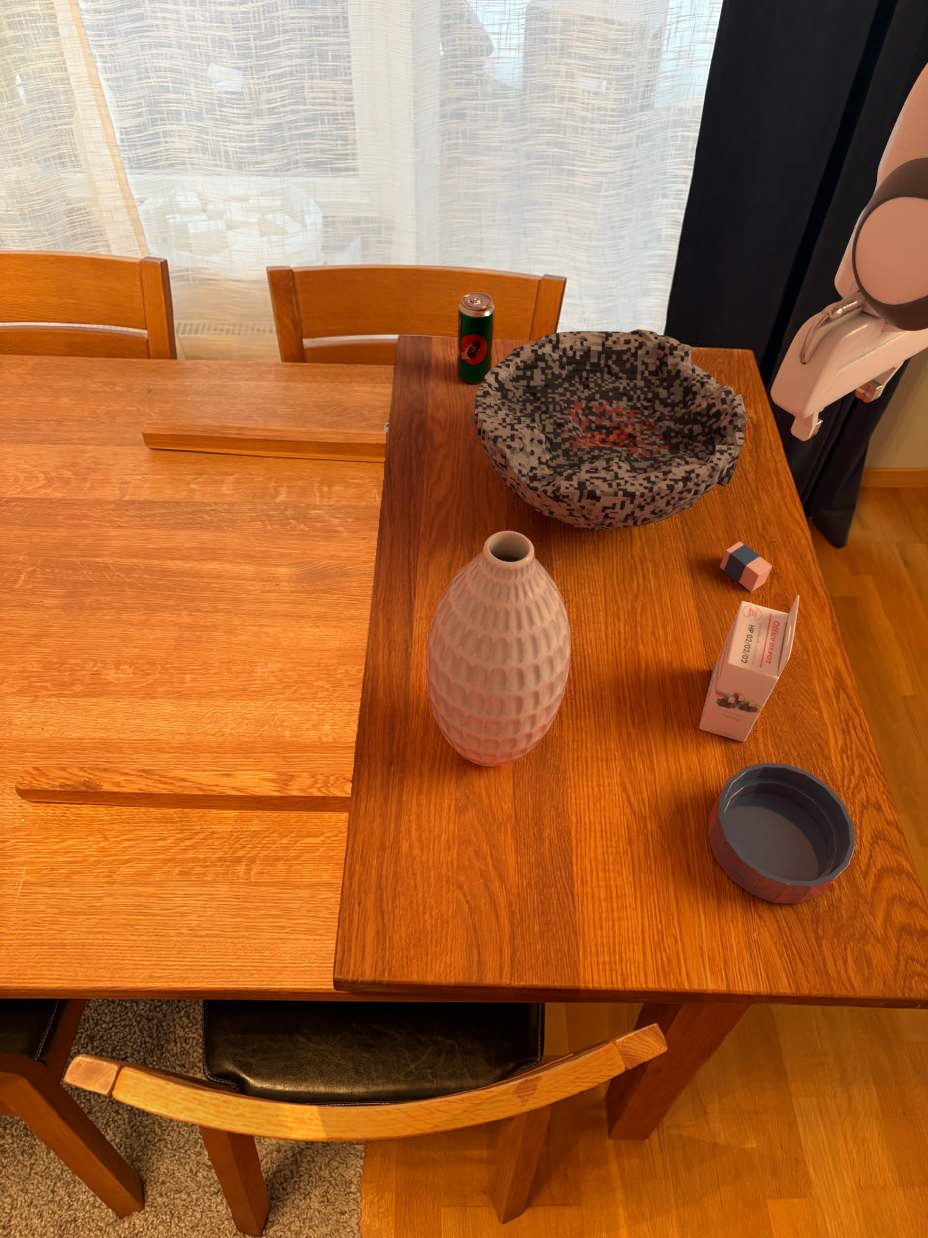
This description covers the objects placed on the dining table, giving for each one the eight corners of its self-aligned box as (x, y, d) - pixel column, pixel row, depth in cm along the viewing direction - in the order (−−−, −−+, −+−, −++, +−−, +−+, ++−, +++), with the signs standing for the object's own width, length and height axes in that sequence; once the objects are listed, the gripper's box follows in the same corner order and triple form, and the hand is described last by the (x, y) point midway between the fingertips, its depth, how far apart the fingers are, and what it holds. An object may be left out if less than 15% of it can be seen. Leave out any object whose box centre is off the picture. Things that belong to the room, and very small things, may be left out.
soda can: (497, 379, 125) (502, 304, 116) (467, 389, 124) (470, 314, 114) (479, 361, 128) (483, 287, 119) (450, 371, 126) (451, 295, 117)
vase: (536, 812, 82) (575, 629, 60) (409, 777, 84) (402, 587, 62) (563, 705, 90) (606, 509, 68) (447, 676, 91) (452, 476, 70)
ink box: (710, 667, 93) (749, 577, 82) (756, 681, 92) (802, 591, 81) (696, 729, 88) (736, 642, 77) (745, 745, 87) (792, 659, 76)
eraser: (765, 583, 101) (773, 565, 99) (750, 593, 100) (758, 575, 98) (732, 558, 104) (740, 540, 101) (718, 567, 103) (725, 549, 100)
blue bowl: (852, 824, 82) (871, 803, 78) (813, 932, 75) (831, 913, 72) (733, 764, 86) (746, 741, 82) (686, 861, 79) (698, 840, 76)
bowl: (695, 421, 120) (724, 326, 109) (733, 588, 101) (772, 493, 89) (473, 412, 120) (478, 315, 109) (467, 577, 100) (471, 480, 89)
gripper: (852, 333, 62) (790, 479, 72) (1003, 252, 70) (927, 393, 81) (783, 295, 65) (733, 440, 75) (935, 221, 73) (871, 361, 84)
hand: (834, 415), depth 78 cm, fingers open, 8 cm apart
